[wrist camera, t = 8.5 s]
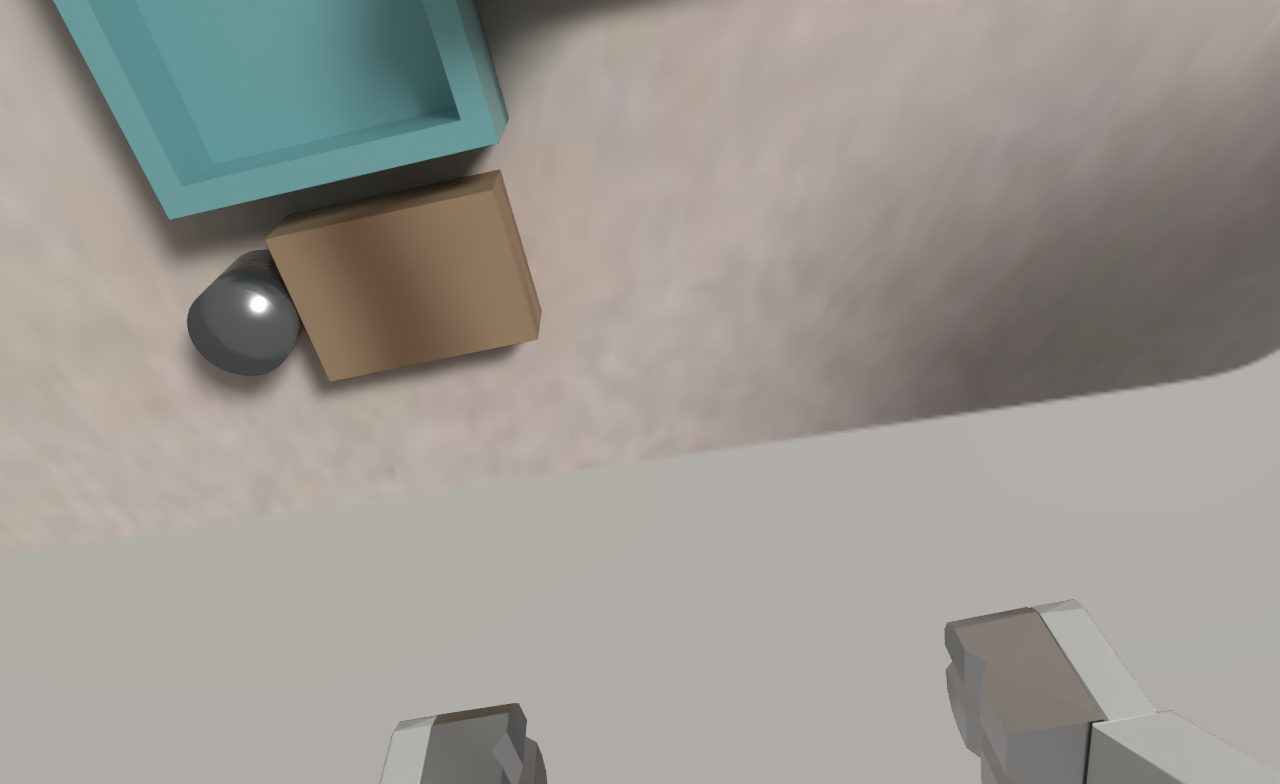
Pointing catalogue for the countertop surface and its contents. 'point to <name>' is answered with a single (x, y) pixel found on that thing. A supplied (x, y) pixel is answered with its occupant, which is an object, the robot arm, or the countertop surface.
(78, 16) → the tray
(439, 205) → the tan cardboard-like brick
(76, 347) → the countertop surface
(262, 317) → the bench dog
